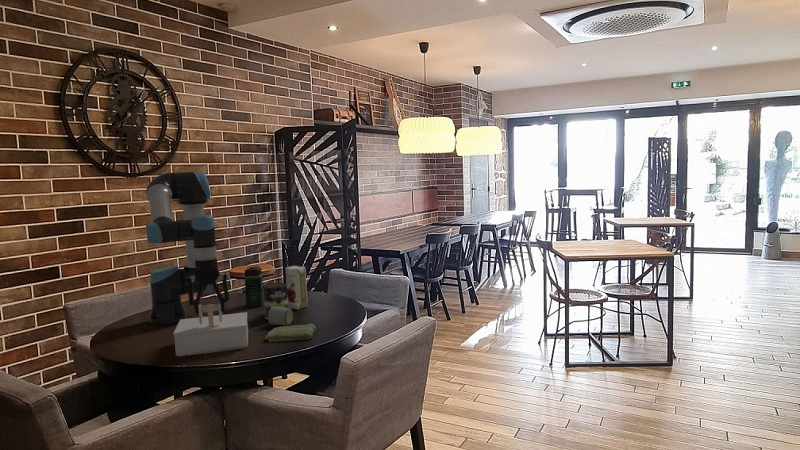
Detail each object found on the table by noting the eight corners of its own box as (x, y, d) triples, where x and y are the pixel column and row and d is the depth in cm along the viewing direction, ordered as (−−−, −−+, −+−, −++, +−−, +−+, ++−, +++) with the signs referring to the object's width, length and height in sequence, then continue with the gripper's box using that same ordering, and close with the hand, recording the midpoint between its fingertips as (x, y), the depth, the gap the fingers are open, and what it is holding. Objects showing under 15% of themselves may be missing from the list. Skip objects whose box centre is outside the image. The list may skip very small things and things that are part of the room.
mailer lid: (180, 321, 196) (178, 299, 195) (247, 314, 203) (245, 292, 202) (173, 335, 178) (171, 311, 178) (246, 327, 185) (245, 303, 184)
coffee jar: (262, 307, 243) (259, 268, 241) (245, 308, 242) (242, 269, 240) (265, 302, 253) (262, 264, 251) (248, 303, 252) (245, 265, 250)
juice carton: (297, 304, 245) (295, 265, 243) (310, 306, 240) (307, 266, 238) (285, 308, 239) (282, 267, 237) (298, 310, 234) (295, 269, 232)
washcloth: (272, 332, 204) (271, 324, 204) (316, 330, 205) (316, 322, 204) (264, 343, 191) (263, 335, 191) (312, 341, 192) (311, 333, 191)
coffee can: (291, 317, 224) (289, 285, 222) (268, 321, 219) (265, 288, 217) (285, 312, 233) (283, 281, 231) (262, 315, 228) (260, 284, 226)
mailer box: (182, 341, 197) (181, 322, 196) (248, 333, 203) (246, 314, 203) (176, 356, 180) (174, 336, 179) (247, 347, 186) (246, 327, 185)
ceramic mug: (286, 327, 209) (285, 309, 208) (268, 327, 210) (267, 308, 210) (297, 320, 219) (296, 302, 218) (280, 320, 221) (279, 302, 220)
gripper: (175, 262, 177) (181, 328, 180) (233, 258, 182) (238, 321, 185) (178, 259, 184) (184, 322, 187) (234, 254, 189) (239, 316, 192)
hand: (211, 321), depth 186 cm, fingers closed on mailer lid, 6 cm apart
